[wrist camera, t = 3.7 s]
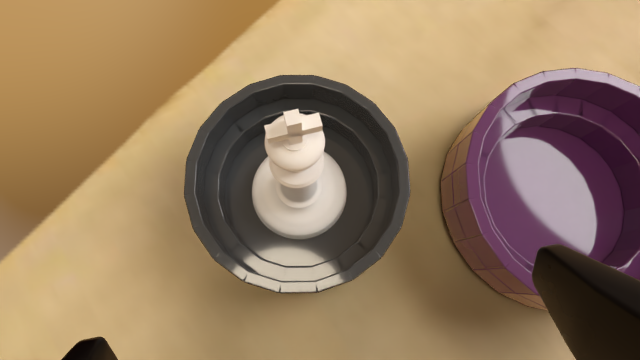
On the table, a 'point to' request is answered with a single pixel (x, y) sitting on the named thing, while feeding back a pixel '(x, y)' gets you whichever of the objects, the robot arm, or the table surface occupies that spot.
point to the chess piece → (298, 179)
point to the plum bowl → (547, 178)
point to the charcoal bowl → (249, 152)
